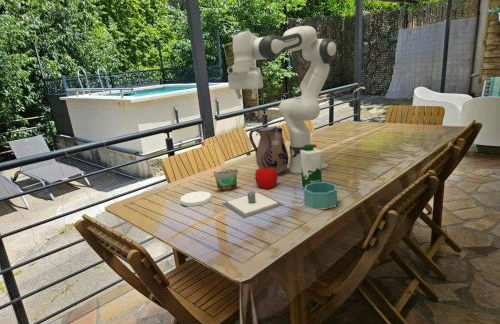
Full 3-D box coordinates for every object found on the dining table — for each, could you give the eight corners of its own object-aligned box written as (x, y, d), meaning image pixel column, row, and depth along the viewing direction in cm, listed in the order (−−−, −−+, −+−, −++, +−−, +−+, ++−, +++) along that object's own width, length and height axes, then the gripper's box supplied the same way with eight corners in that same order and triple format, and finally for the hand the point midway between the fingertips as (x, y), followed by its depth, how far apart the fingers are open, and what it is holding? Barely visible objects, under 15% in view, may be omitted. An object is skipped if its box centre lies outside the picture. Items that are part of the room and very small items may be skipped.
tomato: (260, 192, 163) (258, 172, 160) (252, 184, 175) (251, 165, 172) (282, 188, 166) (281, 168, 163) (273, 180, 177) (272, 161, 175)
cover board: (257, 194, 159) (257, 184, 158) (278, 204, 146) (277, 193, 145) (227, 203, 152) (226, 193, 150) (245, 215, 138) (244, 203, 137)
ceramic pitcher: (287, 177, 181) (284, 130, 175) (248, 177, 186) (244, 132, 179) (290, 167, 198) (288, 124, 191) (254, 167, 202) (251, 125, 196)
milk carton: (316, 182, 169) (315, 143, 164) (325, 188, 161) (323, 147, 155) (299, 185, 167) (297, 145, 162) (307, 191, 159) (305, 149, 153)
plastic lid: (175, 203, 160) (174, 198, 159) (199, 194, 169) (198, 189, 168) (192, 210, 150) (191, 205, 149) (217, 200, 159) (216, 195, 158)
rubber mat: (259, 193, 162) (259, 192, 162) (284, 205, 145) (284, 204, 145) (221, 204, 153) (221, 203, 152) (244, 219, 136) (243, 218, 136)
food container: (217, 194, 165) (215, 174, 163) (215, 190, 171) (212, 171, 168) (242, 190, 168) (240, 170, 165) (239, 186, 174) (237, 167, 171)
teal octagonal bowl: (321, 194, 154) (321, 180, 152) (343, 203, 143) (343, 187, 141) (298, 202, 147) (298, 187, 145) (319, 212, 136) (319, 196, 134)
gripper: (265, 66, 151) (267, 98, 155) (235, 68, 166) (237, 97, 170) (255, 67, 147) (257, 100, 151) (225, 69, 162) (227, 99, 166)
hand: (246, 98), depth 161 cm, fingers open, 8 cm apart
